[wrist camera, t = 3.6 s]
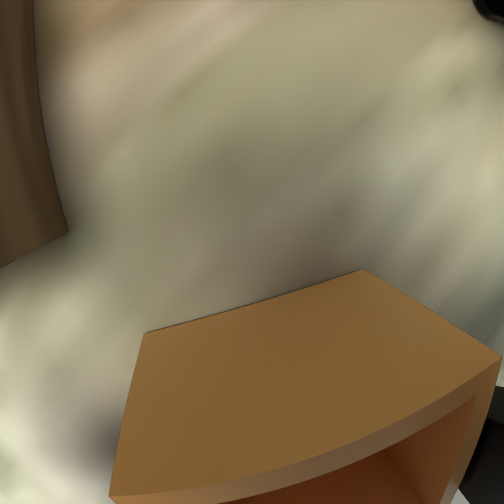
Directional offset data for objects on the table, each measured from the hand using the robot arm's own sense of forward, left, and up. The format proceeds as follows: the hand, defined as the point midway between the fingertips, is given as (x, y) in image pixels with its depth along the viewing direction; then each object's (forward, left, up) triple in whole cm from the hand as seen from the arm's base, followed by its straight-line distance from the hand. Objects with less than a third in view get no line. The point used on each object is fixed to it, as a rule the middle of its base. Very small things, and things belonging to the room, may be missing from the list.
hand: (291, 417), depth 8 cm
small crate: (0, 0, -1) cm, 1 cm away
